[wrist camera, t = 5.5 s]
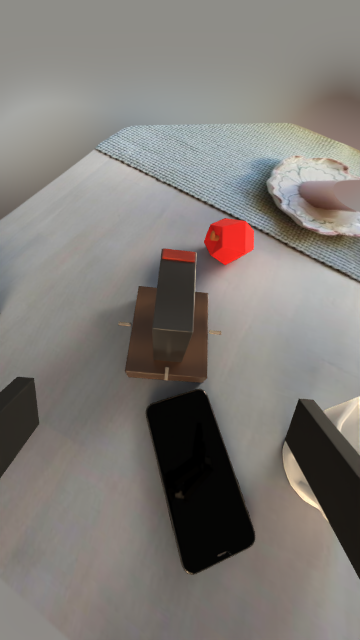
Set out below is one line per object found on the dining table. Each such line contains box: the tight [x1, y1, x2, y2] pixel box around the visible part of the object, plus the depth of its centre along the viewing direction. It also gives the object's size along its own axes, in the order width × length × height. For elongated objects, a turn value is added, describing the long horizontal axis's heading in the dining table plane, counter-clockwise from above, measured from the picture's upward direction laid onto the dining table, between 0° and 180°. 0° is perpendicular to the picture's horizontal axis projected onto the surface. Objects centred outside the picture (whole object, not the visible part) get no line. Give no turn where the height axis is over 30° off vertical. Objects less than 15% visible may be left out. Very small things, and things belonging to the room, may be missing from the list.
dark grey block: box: [152, 249, 196, 362], centre depth 24 cm, size 8×3×9 cm, turn 177°
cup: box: [282, 397, 360, 522], centre depth 21 cm, size 12×12×11 cm
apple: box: [204, 218, 254, 265], centre depth 35 cm, size 7×7×8 cm
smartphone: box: [146, 389, 255, 575], centre depth 24 cm, size 7×1×15 cm
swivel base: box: [118, 286, 221, 383], centre depth 29 cm, size 12×12×3 cm
